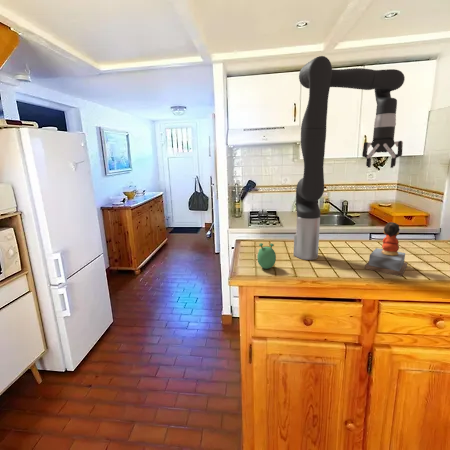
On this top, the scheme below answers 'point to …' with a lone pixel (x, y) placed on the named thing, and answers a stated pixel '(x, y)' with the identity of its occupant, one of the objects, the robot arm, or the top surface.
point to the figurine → (390, 239)
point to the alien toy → (266, 256)
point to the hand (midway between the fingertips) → (380, 167)
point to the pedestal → (387, 262)
